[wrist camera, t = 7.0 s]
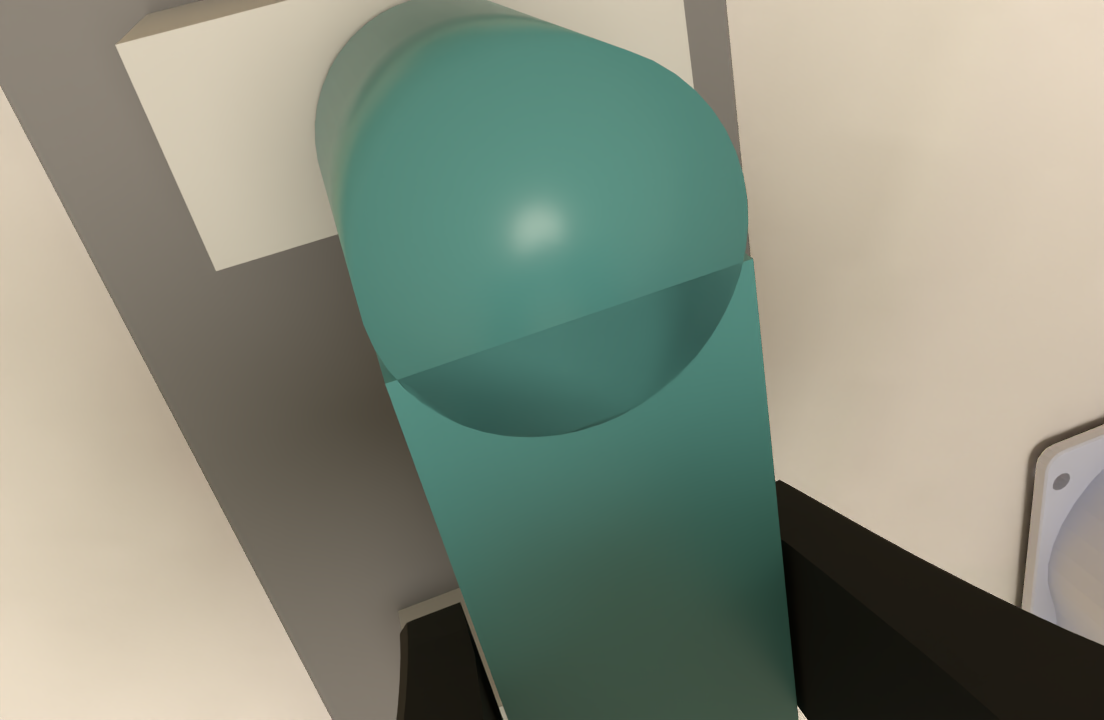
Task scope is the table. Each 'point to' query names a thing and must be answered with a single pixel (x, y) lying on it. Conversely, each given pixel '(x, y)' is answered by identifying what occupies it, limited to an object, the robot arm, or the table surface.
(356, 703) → the display stand
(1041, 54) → the table surface
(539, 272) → the teal dome-capped pillar
